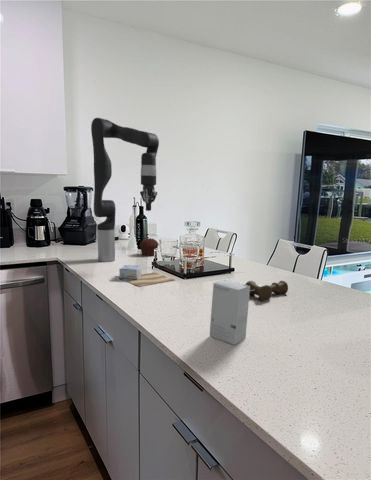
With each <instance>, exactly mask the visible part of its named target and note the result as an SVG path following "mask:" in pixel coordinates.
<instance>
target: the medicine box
mask: <svg viewBox="0 0 371 480" xmlns="http://www.w3.org/2000/svg"><path fill="white" fill-rule="evenodd" d="M141 275H142V265H129V264H128V265H127V264H125V265H123V266H122V267H120V268H119V279H121V280H123V279H138V278H139V277H140V276H141Z"/></svg>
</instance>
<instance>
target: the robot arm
mask: <svg viewBox="0 0 371 480" xmlns="http://www.w3.org/2000/svg"><path fill="white" fill-rule="evenodd" d="M90 127H91V128H90V131H91V138H92V139H91V140H92V149H93V151H92V152H93V177H94V180H93V185H94V188H93V189H94V192H93V193H94V194H93V214H94V216H95V217H96V218H105V220H104V221H102V222H100V223H98V224H97V225H96V227H97V230H96V231H97V235H96V236H97V261H99V262H102V263H103V262H104V263H105V262H106V263H108V262H109V263H110V262H114V261H115V260H116V249H115V247H116V246H115V245H116V243H115V241H116V240H115V238H116V237H115V236H116V235H115V234H116V233H115V231H116V230H115V228H116V227H115V225H116V210H117V209H116V203H115V201H114V200H111V199H103V193H104V190H105V189H106V187H107V185H108V183H109V182H110V180H111V178H112V175H113V174H112V173H113V172H112V161H111V158H110V156H109V154H108V151H107V149H106V148H105V142H104V138H105V139H118V140H122V141H124V142H126V143H130V144H133V145H137V146H140V147H143V148H146V151H145V152H143V153H142V154H141V158H140V159H141V162H140V163H141V165H140V167H141V168H140V185H141V186H142V191H140V192H139V193H140V196H141V199H142V202H144V203H145V211H147V212H149V211H152V203H154V202H155V201H156V198H157V195H158V191H156V190H155V189H156V188H155V186H156V185H157V165H156V164H157V155H158V150H159V147H160V146H159V145H160V140H159V137H158V135H157V134H155V133H151V132H149V131H144V130H138V129H136V128H132V127H126V126H122V125H118V124H117V123H114V122H113V121H110V120H108V119H106V118H105V119H104V118H101V117H95V118H93V119H92V121H91V126H90Z"/></svg>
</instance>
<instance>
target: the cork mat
mask: <svg viewBox="0 0 371 480" xmlns="http://www.w3.org/2000/svg"><path fill="white" fill-rule="evenodd" d="M122 280H123V281H125V282H128V283H129V284H132V285H134V286H135V287H138V288H141V287H142V288H143V287H147V286H152V285H157V284H162V283H167V282H174V281H175V280H176V279H175V278H171V277H169V276H166V275H164V274H162V273H161V274H160V273H158V272H150V273H149V272H148V273H141V276H140V277H139V278H138V279H122Z"/></svg>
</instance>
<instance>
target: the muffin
mask: <svg viewBox="0 0 371 480" xmlns="http://www.w3.org/2000/svg"><path fill="white" fill-rule="evenodd" d="M139 246H140V253H141V256H143V257H155V256H154V249H155V248H157V250H158V247H159V246H160V244H159V242H158V241H157V240H156V239H154V238H151V237H150V238H144V239H143V240H141V241H140V243H139Z"/></svg>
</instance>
